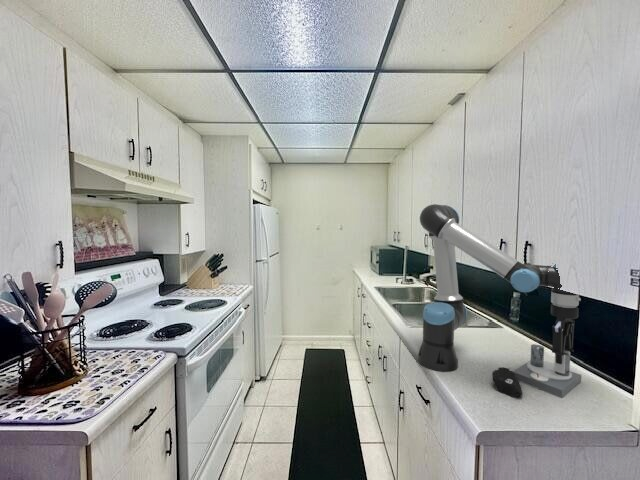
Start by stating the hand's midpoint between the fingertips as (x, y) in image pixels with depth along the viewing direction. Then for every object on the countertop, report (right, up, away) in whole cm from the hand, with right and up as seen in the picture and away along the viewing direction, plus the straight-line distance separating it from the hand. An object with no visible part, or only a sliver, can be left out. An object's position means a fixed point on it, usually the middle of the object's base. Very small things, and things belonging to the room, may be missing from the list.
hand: (562, 370), depth 106 cm
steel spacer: (0, -1, 0) cm, 1 cm away
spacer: (-4, -1, +6) cm, 8 cm away
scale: (-4, -5, +2) cm, 6 cm away
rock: (-22, -5, -3) cm, 23 cm away
